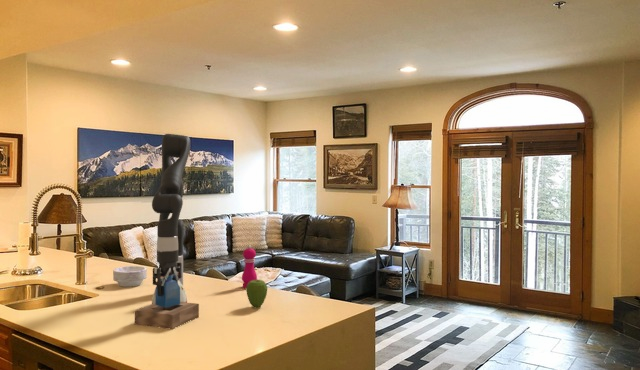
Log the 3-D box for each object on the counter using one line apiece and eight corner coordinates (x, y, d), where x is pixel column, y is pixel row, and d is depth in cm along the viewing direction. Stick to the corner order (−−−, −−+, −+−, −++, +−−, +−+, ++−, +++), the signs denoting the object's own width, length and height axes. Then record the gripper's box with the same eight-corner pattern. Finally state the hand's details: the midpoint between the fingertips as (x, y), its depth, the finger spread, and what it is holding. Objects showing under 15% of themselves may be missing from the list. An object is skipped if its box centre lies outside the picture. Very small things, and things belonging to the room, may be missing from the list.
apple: (244, 305, 204) (244, 277, 204) (264, 303, 207) (264, 276, 207) (248, 311, 196) (248, 281, 196) (269, 309, 199) (269, 280, 199)
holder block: (134, 324, 178) (134, 310, 178) (163, 312, 193) (163, 300, 193) (172, 329, 172) (172, 314, 172) (198, 317, 188) (198, 303, 187)
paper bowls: (136, 289, 234) (136, 272, 233) (106, 287, 236) (106, 271, 236) (152, 282, 249) (152, 266, 248) (124, 281, 251) (124, 265, 251)
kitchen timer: (177, 310, 197) (177, 272, 196) (145, 308, 200) (145, 271, 199) (193, 301, 210) (193, 266, 210) (162, 300, 213) (162, 265, 213)
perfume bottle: (170, 301, 187) (170, 269, 187) (180, 304, 183) (180, 271, 183) (155, 304, 182) (155, 271, 182) (165, 307, 178) (165, 274, 178)
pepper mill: (238, 287, 237) (238, 245, 237) (247, 284, 243) (247, 243, 243) (251, 289, 234) (251, 246, 233) (259, 286, 240) (260, 244, 240)
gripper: (171, 245, 190) (171, 288, 191) (146, 251, 177) (146, 297, 177) (187, 246, 188) (187, 290, 188) (163, 252, 174) (163, 299, 175)
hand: (167, 293), depth 183 cm, fingers closed on perfume bottle, 7 cm apart
